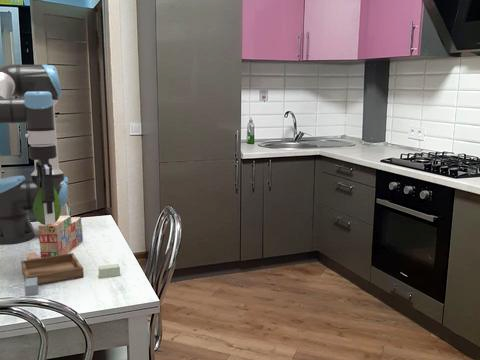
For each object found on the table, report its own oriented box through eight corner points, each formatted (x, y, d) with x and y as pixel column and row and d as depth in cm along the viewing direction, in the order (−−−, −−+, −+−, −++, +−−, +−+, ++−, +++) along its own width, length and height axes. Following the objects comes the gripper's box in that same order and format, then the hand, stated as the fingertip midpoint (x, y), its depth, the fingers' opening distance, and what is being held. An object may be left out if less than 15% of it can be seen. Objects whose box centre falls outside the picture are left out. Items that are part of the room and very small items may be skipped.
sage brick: (99, 279, 147) (99, 269, 147) (98, 275, 150) (98, 266, 150) (120, 276, 149) (119, 266, 149) (119, 272, 152) (118, 263, 152)
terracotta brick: (27, 262, 161) (26, 254, 161) (36, 261, 163) (36, 252, 162) (29, 268, 156) (28, 259, 156) (39, 266, 158) (38, 257, 157)
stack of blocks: (66, 240, 184) (64, 208, 182) (83, 241, 184) (81, 209, 182) (40, 260, 163) (37, 224, 161) (59, 260, 163) (56, 224, 161)
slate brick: (26, 288, 141) (26, 278, 140) (38, 287, 142) (37, 277, 141) (25, 296, 135) (24, 286, 134) (37, 295, 136) (36, 284, 136)
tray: (21, 270, 154) (21, 261, 154) (73, 261, 162) (72, 253, 161) (27, 287, 141) (26, 277, 140) (83, 277, 148) (83, 267, 148)
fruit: (67, 223, 149) (65, 184, 147) (44, 229, 143) (41, 188, 141) (52, 219, 154) (49, 181, 152) (28, 225, 147) (25, 186, 145)
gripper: (24, 142, 151) (30, 214, 155) (32, 149, 133) (39, 230, 137) (50, 141, 155) (55, 211, 159) (61, 147, 137) (67, 227, 141)
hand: (48, 220), depth 148 cm, fingers closed on fruit, 8 cm apart
